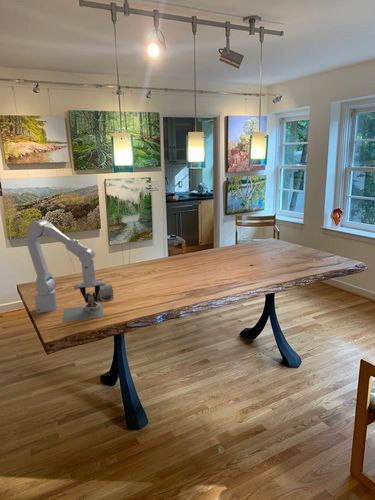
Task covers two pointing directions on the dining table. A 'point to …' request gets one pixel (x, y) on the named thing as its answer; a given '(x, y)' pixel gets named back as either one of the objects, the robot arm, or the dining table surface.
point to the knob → (91, 299)
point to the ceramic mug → (105, 292)
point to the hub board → (83, 312)
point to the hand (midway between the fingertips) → (91, 301)
